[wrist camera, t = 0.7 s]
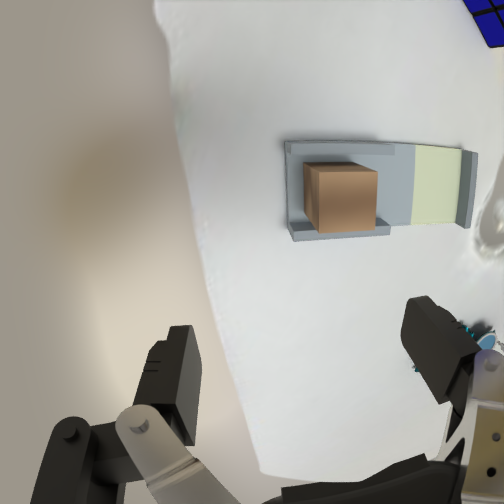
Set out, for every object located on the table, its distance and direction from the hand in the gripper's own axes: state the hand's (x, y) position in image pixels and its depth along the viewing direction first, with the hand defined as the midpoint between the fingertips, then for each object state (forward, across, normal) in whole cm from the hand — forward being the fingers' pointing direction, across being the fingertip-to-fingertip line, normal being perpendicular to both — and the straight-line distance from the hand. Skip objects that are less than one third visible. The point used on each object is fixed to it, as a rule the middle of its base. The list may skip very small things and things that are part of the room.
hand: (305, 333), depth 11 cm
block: (+20, -7, -1) cm, 21 cm away
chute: (+21, -14, 0) cm, 25 cm away
